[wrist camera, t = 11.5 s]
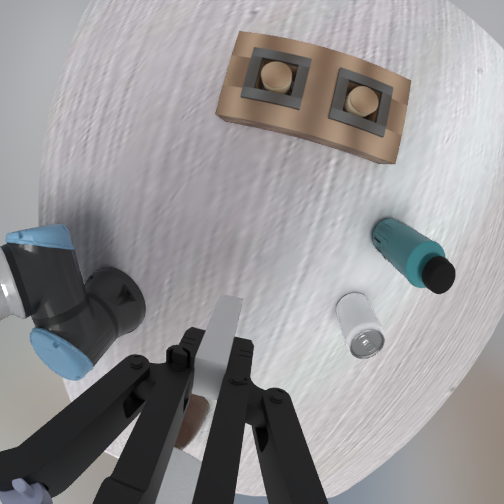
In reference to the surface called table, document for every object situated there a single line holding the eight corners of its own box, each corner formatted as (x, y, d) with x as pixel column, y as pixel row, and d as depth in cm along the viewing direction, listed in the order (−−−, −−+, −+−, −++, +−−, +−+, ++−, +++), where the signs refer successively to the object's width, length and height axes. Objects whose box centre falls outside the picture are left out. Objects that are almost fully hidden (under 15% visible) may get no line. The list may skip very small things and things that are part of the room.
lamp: (149, 372, 60) (83, 488, 25) (221, 383, 58) (179, 526, 23) (164, 415, 65) (120, 516, 31) (226, 426, 63) (198, 540, 29)
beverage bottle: (362, 228, 43) (411, 274, 24) (392, 207, 41) (456, 240, 23) (379, 258, 44) (428, 316, 26) (407, 238, 43) (469, 284, 24)
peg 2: (336, 117, 37) (347, 107, 30) (341, 95, 36) (353, 82, 28) (360, 125, 37) (375, 117, 30) (364, 103, 36) (380, 92, 28)
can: (356, 284, 46) (374, 319, 35) (374, 306, 47) (393, 343, 36) (328, 306, 48) (339, 345, 37) (348, 327, 49) (361, 367, 38)
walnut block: (225, 121, 40) (213, 112, 33) (245, 48, 36) (238, 28, 28) (379, 163, 39) (397, 164, 32) (394, 90, 35) (413, 78, 27)
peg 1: (262, 97, 37) (257, 84, 30) (268, 76, 36) (264, 58, 29) (287, 103, 37) (288, 90, 30) (292, 81, 36) (294, 65, 29)
